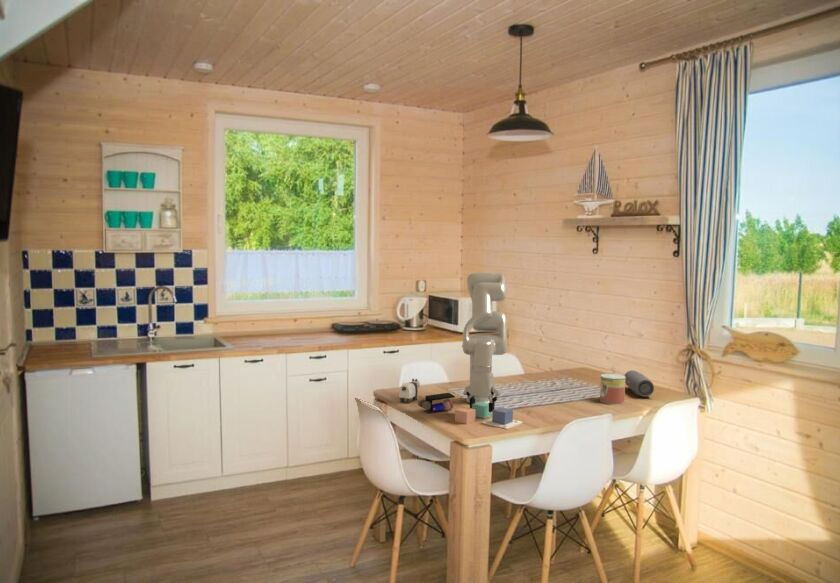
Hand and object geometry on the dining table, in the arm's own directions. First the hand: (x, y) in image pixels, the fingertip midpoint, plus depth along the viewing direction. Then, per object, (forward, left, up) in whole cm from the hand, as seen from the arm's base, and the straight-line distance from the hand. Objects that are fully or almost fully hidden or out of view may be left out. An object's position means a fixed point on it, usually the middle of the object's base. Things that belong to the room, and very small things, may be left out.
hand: (481, 409), depth 278 cm
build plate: (+12, -3, -3) cm, 13 cm away
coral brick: (-1, -11, -3) cm, 12 cm away
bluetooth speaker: (+33, +88, -3) cm, 94 cm away
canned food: (+30, +64, -3) cm, 71 cm away
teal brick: (-1, +1, -3) cm, 3 cm away
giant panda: (-39, -1, -3) cm, 39 cm away
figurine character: (-19, -7, -3) cm, 20 cm away
